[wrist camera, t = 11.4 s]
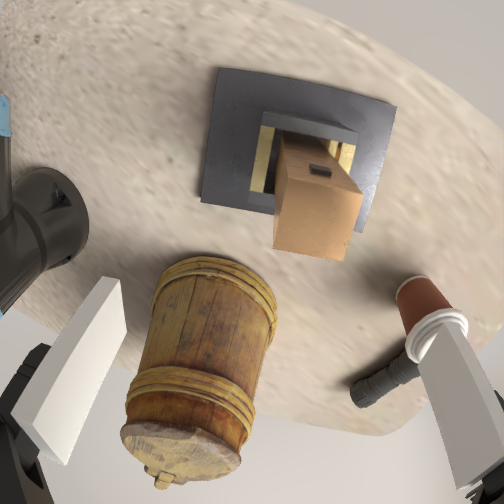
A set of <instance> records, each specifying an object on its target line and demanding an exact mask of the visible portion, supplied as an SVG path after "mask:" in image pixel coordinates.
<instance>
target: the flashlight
mask: <svg viewBox="0 0 504 504" xmlns="http://www.w3.org/2000/svg"><path fill="white" fill-rule="evenodd" d="M418 365H419V363H415V362H414V361H412V360H411V359H410V358H408V355H407V352H406V350H404V351H403V353H402V354H401V355H400V356H399V357H396V359H394V360H392V361H391V363H390V366H387V367H385V368H384V369H382V370H381V371H379V372H378V373H375V374H373V375H371V377H368V378H366V379H362V380H360V381H359V382H357V383H355V384H354V385H353V387H351V388H350V396H351V399H352V401H353V402H354V404H355V405H356V406H357V407H359V408H364V407H365V408H367V407H368V406H370V405H372V404H374V403H375V402H376V401H377V400H378V399H379V398H381V396H384V395H386V394H387V393H388V392H389V391H391V390H392V389H394V388H396V387H397V386H399V384H406V383H407V382H408V381H410V380H411V379H413V378H416V377H419V376H420V372H419V370H418V367H417V366H418Z"/></svg>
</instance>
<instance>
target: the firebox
mask: <svg viewBox="0 0 504 504" xmlns="http://www.w3.org/2000/svg"><path fill="white" fill-rule="evenodd" d="M396 109H397V107H396V106H393V105H390V104H387V103H384V102H381V101H378V100H374V99H371V98H368V97H364V96H361V95H357V94H354V93H350V92H347V91H343V90H339V89H335V88H331V87H327V86H323V85H319V84H314V83H310V82H305V81H301V80H296V79H291V78H285V77H280V76H275V75H269V74H263V73H256V72H249V71H242V70H235V69H226V68H219V70H218V76H217V82H216V89H215V95H214V102H213V108H212V115H211V122H210V129H209V136H208V144H207V151H206V159H205V167H204V176H203V184H202V193H201V202H202V203H208V204H214V205H220V206H226V207H231V208H237V209H243V210H248V211H254V212H259V213H265V214H270V215H274V204H275V174H276V162H277V157H278V151H279V146H280V141H281V136H282V131H283V132H289V133H294V134H298V135H303V136H308V137H312V138H317V139H319V140H320V141H321V143H322V144H323V145H324V146H325V147H326V149H327V150H328V151H329V152H330V153H331V154H332V156H333V157H334V158H335V159H336V160H337V162H338V163H339V164H340V165H341V167H342V168H343V169H344V170H345V171H346V173H347V174H348V175H349V176H350V178H351V179H352V180H353V182H354V183H355V184H356V185H357V187H358V188H359V189H360V190H361V192H362V193H363V194H364V196H363V199H362V203H361V206H360V210H359V213H358V216H357V219H356V223H355V226H354V229H353V231H355V232H360V233H362V232H363V229H364V226H365V223H366V219H367V216H368V213H369V210H370V207H371V203H372V200H373V197H374V193H375V190H376V187H377V183H378V180H379V176H380V173H381V169H382V165H383V162H384V158H385V154H386V150H387V146H388V143H389V139H390V135H391V131H392V126H393V122H394V118H395V114H396Z"/></svg>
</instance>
